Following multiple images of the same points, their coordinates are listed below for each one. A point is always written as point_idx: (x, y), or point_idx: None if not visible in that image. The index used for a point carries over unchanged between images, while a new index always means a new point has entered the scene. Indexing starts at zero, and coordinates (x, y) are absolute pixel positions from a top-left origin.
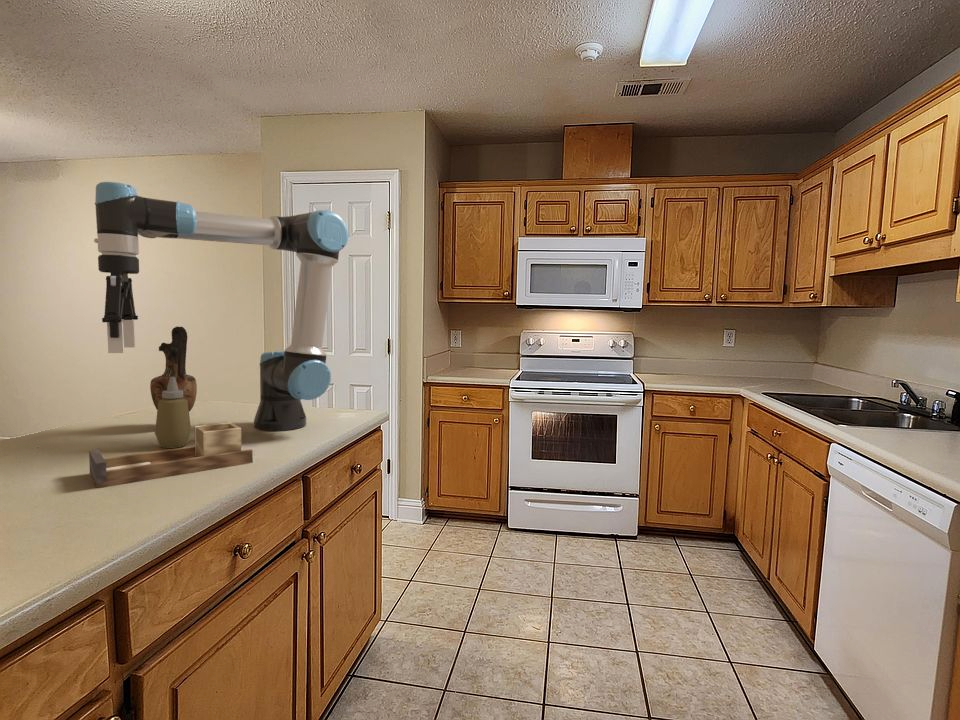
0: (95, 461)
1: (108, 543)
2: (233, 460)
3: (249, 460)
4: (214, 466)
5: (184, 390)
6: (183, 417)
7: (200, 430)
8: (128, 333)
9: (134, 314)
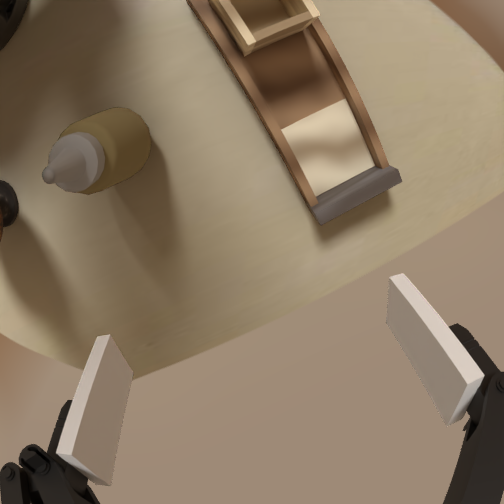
0: (390, 187)
1: None
2: None
3: None
4: None
5: None
6: (118, 117)
7: (293, 25)
8: (105, 405)
9: (17, 475)
